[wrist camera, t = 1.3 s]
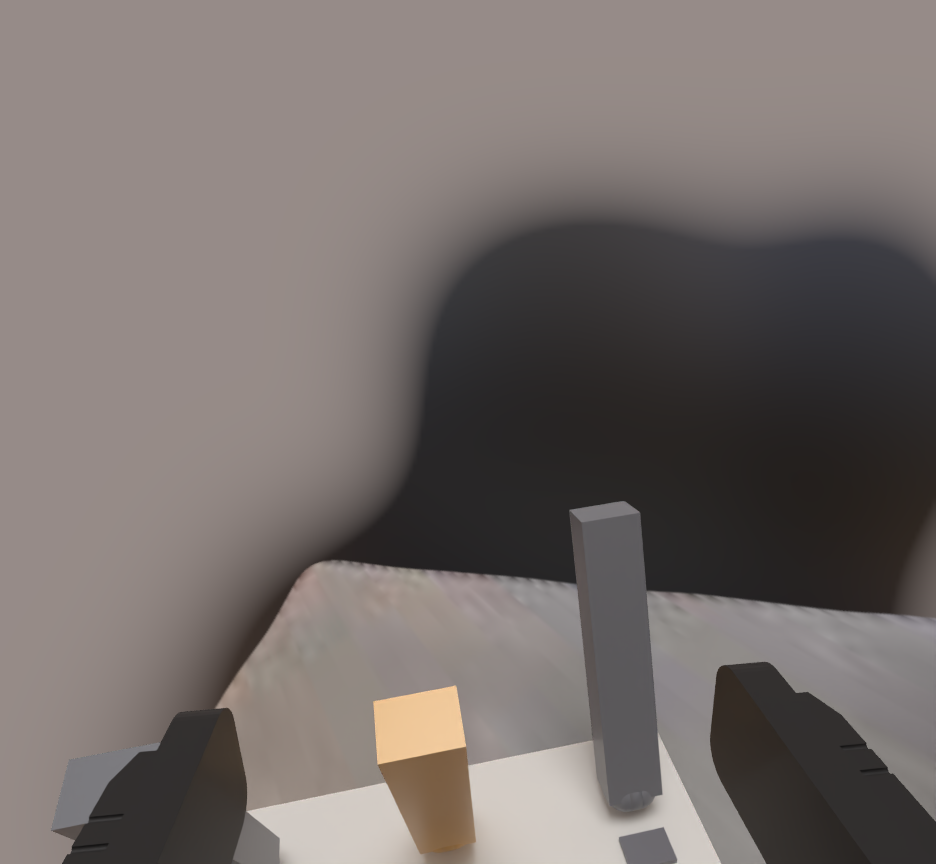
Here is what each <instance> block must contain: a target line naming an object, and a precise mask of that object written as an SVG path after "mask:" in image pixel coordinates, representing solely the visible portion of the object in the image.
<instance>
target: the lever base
mask: <svg viewBox="0 0 936 864" xmlns="http://www.w3.org/2000/svg"><path fill="white" fill-rule="evenodd" d="M658 744H659V756H660V769H661V781H662V793H663V795H659V796H655V798H654V800H653V802H652V803H651V804H650V805H649V806H647V807H646V808H643V809H639V810H635V811H630V812H622V811H619V810H616V809H615V808H613V807H612V806H609V804H608V802H607V800H606V799H605V797H604V794H603V791H602V788H601V786H600V784H599V782H598V780H597V775H596V765H595V755H594V745H593V740H591V741H586V742H581V743H576V744H572V745H567V746H562V747H557V748H552V749H547V750H542V751H537V752H533V753H528V754H523V755H518V756H513V757H508V758H503V759H499V760H494V761H489V762H484V763H479V764H474V765H469V766H468V770H469V779H470V789H471V798H472V808H473V817H474V827H475V836H476V842H475V843H470V844H466V845H464V846H462V847H461V848H459V849H456V850H452V851H447V852H443V853H435V852H429V853H424V854H420V853H419V851H418V849H417V846H416V844H415V842H414V840H413V838H412V836H411V834H410V832H409V830H408V827H407V825H406V823H405V821H404V819H403V817H402V815H401V813H400V810H399V808H398V806H397V804H396V802H395V800H394V798H393V796H392V794H391V791H390V789H389V787H388V785H387V783H382V784H377V785H372V786H367V787H362V788H358V789H353V790H348V791H343V792H338V793H333V794H328V795H323V796H319V797H314V798H309V799H304V800H299V801H294V802H289V803H285V804H280V805H275V806H270V807H265V808H260V809H255V810H250V811H246V812H248V813H249V814H250V815H251V816H253V817H254V818H255V819H256V820H258V821H259V822H260V823H261V824H263V825H264V826H265V827H266V828H268V829H269V830H270V831H271V832H273V833H274V834H275V835H276V836H278V837H279V838H280V849H279V858H280V864H721V862H720V860H719V858H718V856H717V854H716V852H715V850H714V848H713V846H712V844H711V842H710V839H709V837H708V835H707V833H706V831H705V829H704V827H703V825H702V823H701V821H700V819H699V817H698V815H697V813H696V810H695V808H694V806H693V804H692V802H691V800H690V798H689V796H688V794H687V792H686V790H685V788H684V786H683V784H682V781H681V779H680V777H679V775H678V773H677V771H676V769H675V767H674V765H673V763H672V761H671V759H670V757H669V755H668V753H667V750H666V748H665V746H664V744H663V742H662V740H661V738H660V736H659V734H658Z"/></svg>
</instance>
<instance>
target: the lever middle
mask: <svg viewBox="0 0 936 864" xmlns="http://www.w3.org/2000/svg"><path fill="white" fill-rule="evenodd" d="M374 716H375V731H376V746H377V761H378V766H379V768H380V770H381V772H382V775H383V777H384V779H385V781H386V783H387V785H388V787H389V789H390V791H391V794H392V796H393V798H394V800H395V802H396V804H397V806H398V808H399V810H400V813H401V815H402V817H403V819H404V821H405V823H406V825H407V827H408V830H409V832H410V834H411V836H412V838H413V840H414V842H415V844H416V846H417V849H418V851H419V853H420V854H424V853H429V852H435V853H443V852H447V851H452V850H456V849H459V848H461V847H462V846H464V845H466V844H470V843H475V842H476V836H475V827H474V817H473V808H472V798H471V789H470V779H469V770H468V760H467V751H466V743H465V737H464V731H463V725H462V719H461V712H460V706H459V700H458V694H457V688H456V686H452V687H447V688H441V689H436V690H431V691H426V692H420V693H415V694H410V695H405V696H400V697H394V698H389V699H384V700H379V701H374Z"/></svg>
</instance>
